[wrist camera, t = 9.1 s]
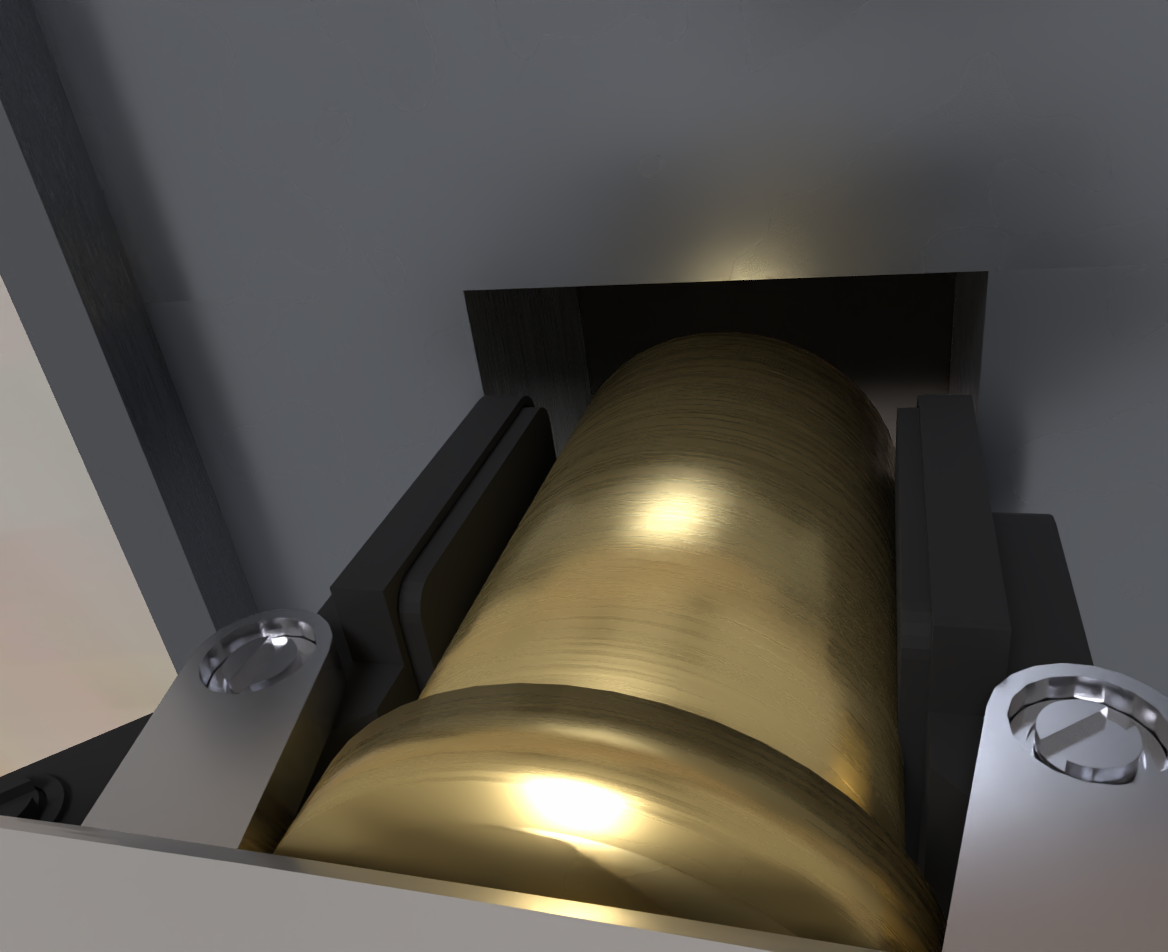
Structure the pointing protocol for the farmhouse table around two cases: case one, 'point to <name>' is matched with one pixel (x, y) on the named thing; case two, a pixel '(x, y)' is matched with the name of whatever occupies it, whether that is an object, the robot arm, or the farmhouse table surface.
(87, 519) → the farmhouse table surface
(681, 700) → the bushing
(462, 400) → the jig
